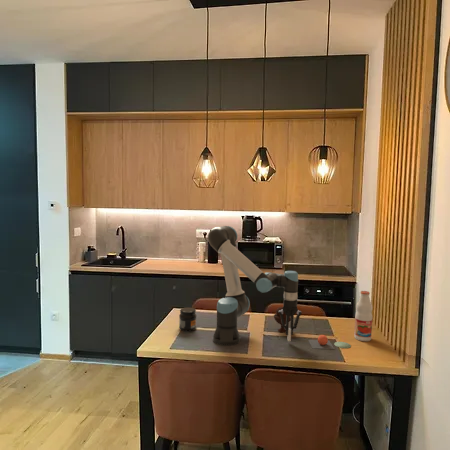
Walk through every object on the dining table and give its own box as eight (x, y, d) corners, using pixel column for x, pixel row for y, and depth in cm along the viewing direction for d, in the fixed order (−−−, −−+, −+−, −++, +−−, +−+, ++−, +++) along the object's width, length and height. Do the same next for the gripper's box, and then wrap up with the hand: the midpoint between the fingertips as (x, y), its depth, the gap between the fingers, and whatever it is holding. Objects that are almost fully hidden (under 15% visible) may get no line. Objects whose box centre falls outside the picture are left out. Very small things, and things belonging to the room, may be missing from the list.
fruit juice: (366, 335, 227) (369, 289, 225) (374, 341, 218) (376, 293, 215) (351, 335, 226) (353, 289, 224) (358, 341, 217) (360, 293, 215)
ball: (318, 337, 208) (328, 337, 208) (316, 333, 213) (326, 333, 213) (319, 347, 208) (329, 346, 208) (316, 343, 214) (326, 342, 214)
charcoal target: (312, 348, 205) (312, 348, 205) (308, 340, 217) (308, 339, 217) (334, 349, 205) (334, 348, 205) (329, 340, 217) (329, 340, 217)
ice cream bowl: (291, 334, 225) (292, 310, 224) (272, 333, 227) (273, 308, 226) (291, 328, 236) (292, 305, 234) (273, 327, 238) (274, 303, 237)
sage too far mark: (336, 348, 207) (336, 347, 207) (332, 341, 216) (332, 341, 216) (353, 348, 207) (353, 348, 207) (348, 342, 216) (348, 341, 216)
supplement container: (199, 328, 233) (200, 309, 232) (188, 333, 224) (188, 313, 223) (187, 324, 239) (187, 306, 238) (175, 329, 230) (175, 310, 229)
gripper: (279, 300, 206) (278, 342, 208) (303, 301, 206) (301, 343, 208) (277, 296, 213) (276, 337, 215) (300, 297, 213) (299, 338, 215)
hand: (288, 340), depth 211 cm, fingers closed
